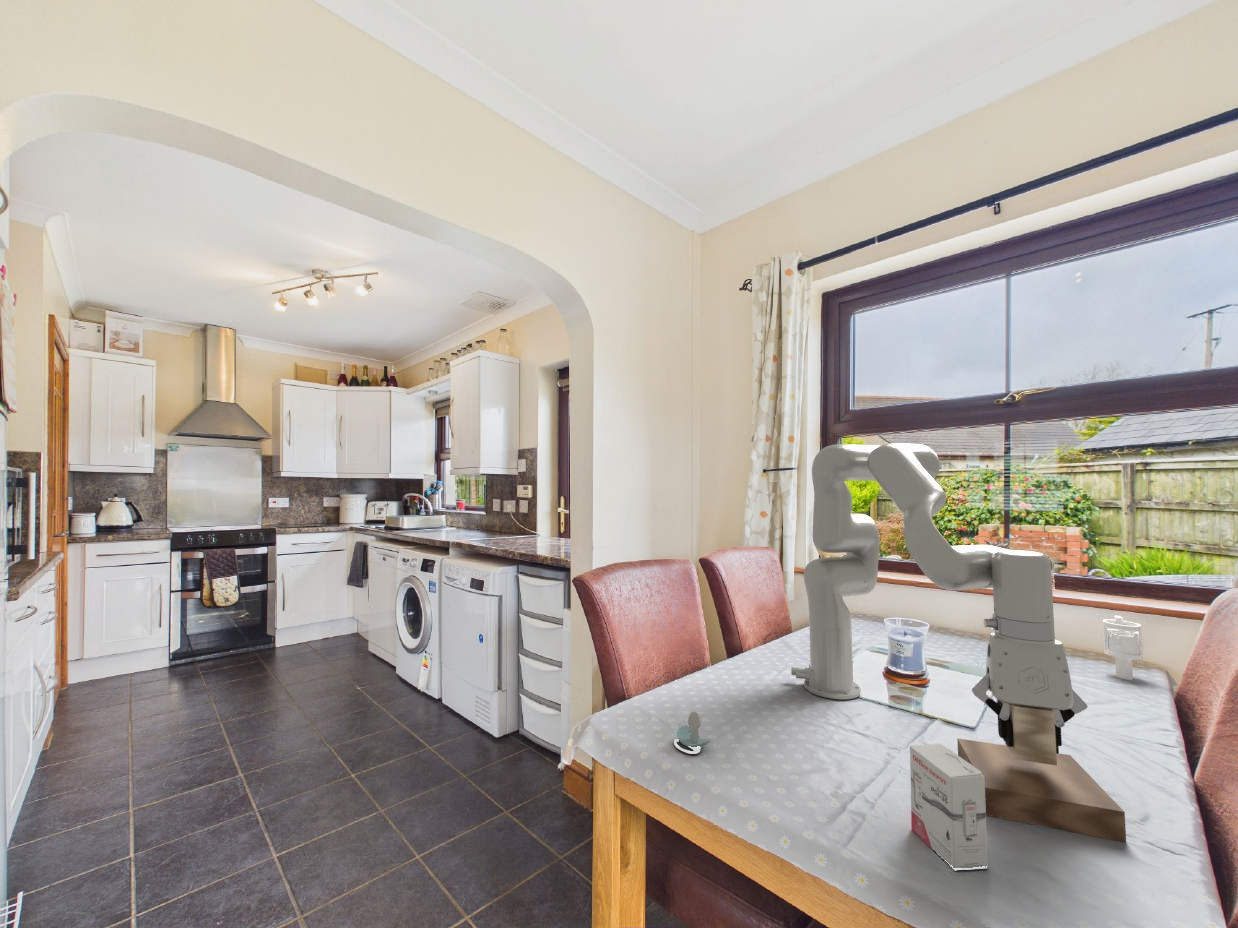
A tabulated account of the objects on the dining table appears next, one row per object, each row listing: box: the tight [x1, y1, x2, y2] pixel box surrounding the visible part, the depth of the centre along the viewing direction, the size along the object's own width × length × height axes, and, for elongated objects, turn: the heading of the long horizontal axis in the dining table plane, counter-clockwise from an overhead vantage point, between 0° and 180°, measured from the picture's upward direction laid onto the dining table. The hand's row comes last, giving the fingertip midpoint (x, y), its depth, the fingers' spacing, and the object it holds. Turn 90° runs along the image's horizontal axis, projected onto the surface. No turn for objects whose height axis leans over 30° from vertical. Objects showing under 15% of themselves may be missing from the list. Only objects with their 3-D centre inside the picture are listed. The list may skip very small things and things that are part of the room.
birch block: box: [1004, 704, 1057, 766], centre depth 80 cm, size 5×5×8 cm
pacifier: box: [676, 711, 712, 747], centre depth 95 cm, size 7×6×6 cm
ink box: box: [909, 743, 989, 868], centre depth 68 cm, size 9×5×12 cm, turn 5°
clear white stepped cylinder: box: [1102, 615, 1144, 681], centre depth 130 cm, size 7×7×15 cm
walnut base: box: [956, 737, 1127, 843], centre depth 80 cm, size 16×16×4 cm
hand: (1029, 744), depth 80 cm, fingers closed on birch block, 5 cm apart
